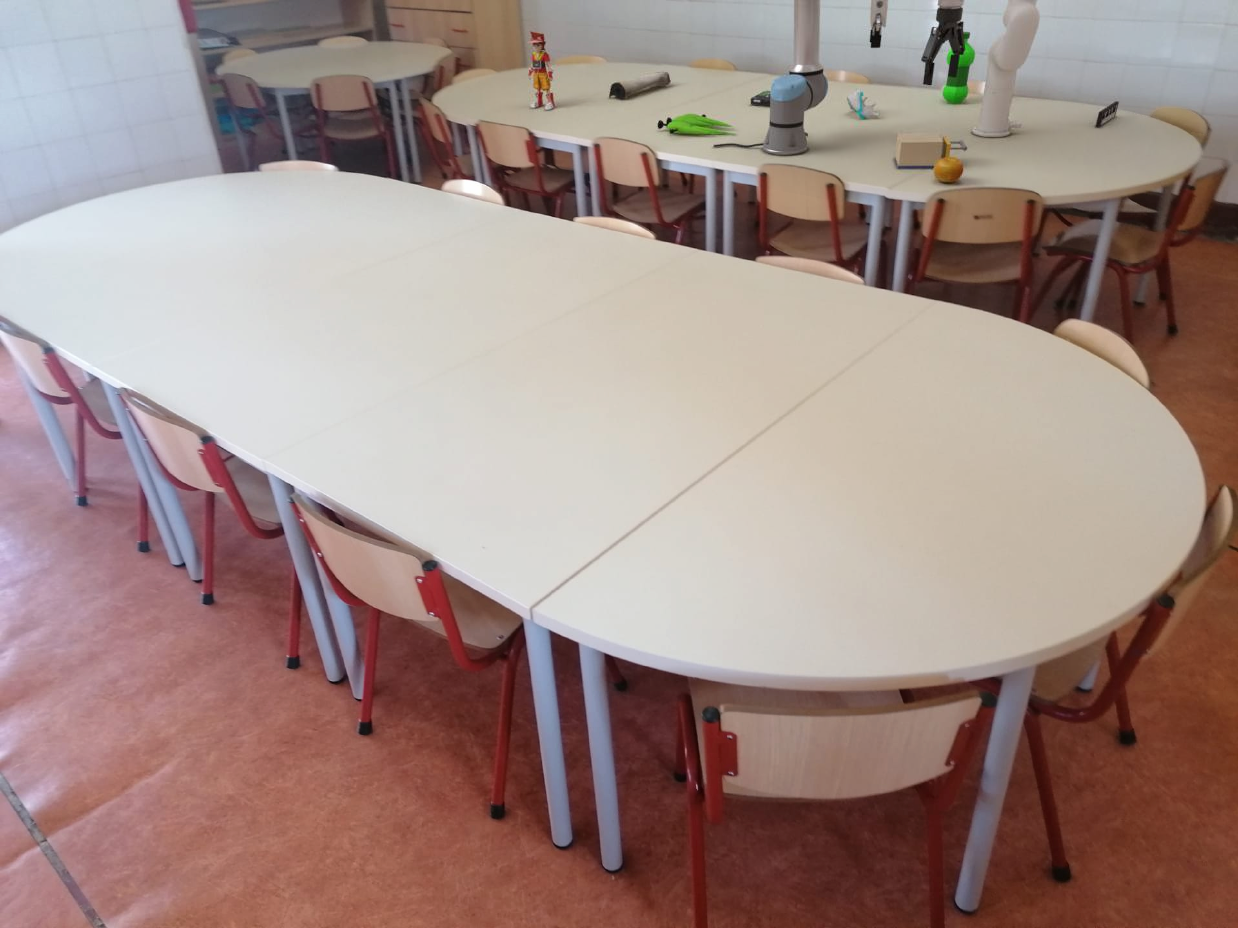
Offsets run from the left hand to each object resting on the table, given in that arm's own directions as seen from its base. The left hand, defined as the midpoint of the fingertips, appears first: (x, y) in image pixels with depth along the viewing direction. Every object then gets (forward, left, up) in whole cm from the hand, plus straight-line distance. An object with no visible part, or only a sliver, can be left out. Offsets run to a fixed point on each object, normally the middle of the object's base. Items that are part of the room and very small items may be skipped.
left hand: (939, 81), depth 286 cm
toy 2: (-87, +2, -24) cm, 90 cm away
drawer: (+4, -7, -23) cm, 24 cm away
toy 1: (-167, +13, -24) cm, 169 cm away
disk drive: (-80, +52, -24) cm, 98 cm away
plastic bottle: (-11, +74, -24) cm, 79 cm away
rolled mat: (-140, +51, -24) cm, 151 cm away
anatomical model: (-38, +44, -24) cm, 63 cm away
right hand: (-28, +17, +6) cm, 33 cm away
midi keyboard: (+46, +62, -24) cm, 81 cm away
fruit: (+12, -24, -24) cm, 36 cm away
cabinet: (-2, -9, -24) cm, 26 cm away
